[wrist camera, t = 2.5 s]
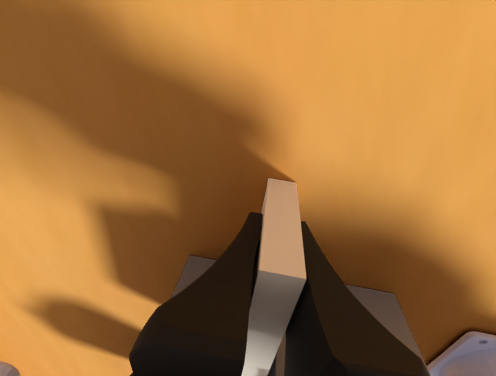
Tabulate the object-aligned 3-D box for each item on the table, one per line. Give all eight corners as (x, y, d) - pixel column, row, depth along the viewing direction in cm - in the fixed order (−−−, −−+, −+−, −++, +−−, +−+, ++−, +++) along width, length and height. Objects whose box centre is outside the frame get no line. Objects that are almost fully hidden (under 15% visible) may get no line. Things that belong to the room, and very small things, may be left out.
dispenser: (398, 287, 16) (469, 438, 10) (351, 350, 20) (380, 479, 14) (189, 249, 16) (135, 369, 10) (189, 318, 21) (152, 430, 15)
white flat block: (296, 182, 13) (306, 278, 7) (264, 296, 18) (257, 398, 13) (268, 177, 13) (259, 270, 7) (245, 292, 18) (230, 392, 13)
